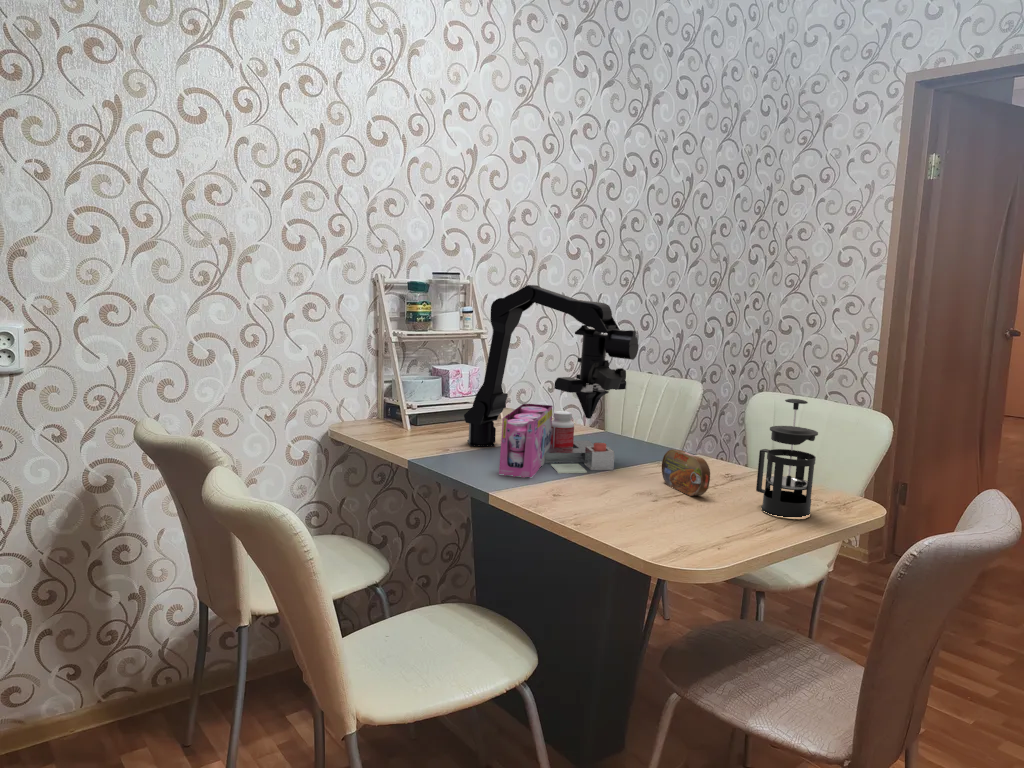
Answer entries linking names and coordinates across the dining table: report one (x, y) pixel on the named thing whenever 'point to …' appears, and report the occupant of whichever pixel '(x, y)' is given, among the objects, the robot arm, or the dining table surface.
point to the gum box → (525, 439)
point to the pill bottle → (562, 430)
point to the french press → (787, 500)
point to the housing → (599, 458)
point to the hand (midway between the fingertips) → (588, 418)
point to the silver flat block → (568, 453)
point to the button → (599, 447)
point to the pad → (568, 468)
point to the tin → (685, 472)
